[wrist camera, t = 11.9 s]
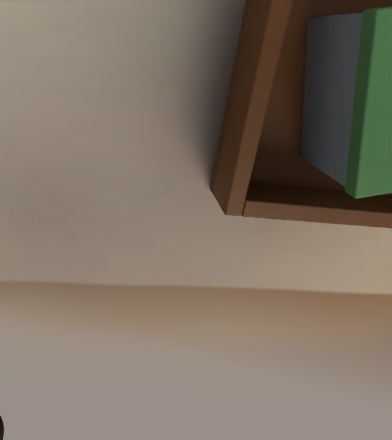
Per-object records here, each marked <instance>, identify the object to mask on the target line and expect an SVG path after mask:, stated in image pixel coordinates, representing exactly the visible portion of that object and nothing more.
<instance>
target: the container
mask: <svg viewBox="0 0 392 440" xmlns="http://www.w3.org/2000/svg"><path fill="white" fill-rule="evenodd" d="M301 156H302V158H304V159H305V160H307V161H308V162H310V163H311V164H313V165H314V166H316V167H317V168H318V169H320V170H321V171H323V172H324V173H326V174H327V175H329V176H330V177H332V178H333V179H335V180H336V181H337V182H339V183H340V184H342V185H343V186H345V192H347V193H348V194H350V195H351V196H352V197H354V198H363V197H369V196H375V195H381V194H387V193H392V7H383V8H373V9H365V10H364V11H363V12H357V13H348V14H338V15H328V16H319V17H309V18H307V31H306V56H305V81H304V105H303V130H302V155H301Z"/></svg>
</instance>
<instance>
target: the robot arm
mask: <svg viewBox="0 0 392 440" xmlns="http://www.w3.org/2000/svg"><path fill="white" fill-rule="evenodd" d="M3 435H4V425H3V421H2V418H1V416H0V440H3Z"/></svg>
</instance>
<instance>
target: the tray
mask: <svg viewBox="0 0 392 440" xmlns="http://www.w3.org/2000/svg"><path fill="white" fill-rule="evenodd" d="M383 7H392V0H246V4H245V10H244V15H243V20H242V25H241V30H240V35H239V41H238V46H237V51H236V56H235V61H234V66H233V72H232V77H231V82H230V87H229V92H228V97H227V103H226V108H225V113H224V118H223V123H222V128H221V134H220V139H219V144H218V149H217V154H216V159H215V164H214V170H213V175H212V180H211V185H210V190H211V192H212V193H213V195H214V196H215V198H216V200H217V202H218V203H219V205H220V207H221V209H222V210H223V212H224V214H225V215H234V216H241V215H242V216H244V217H256V218H269V219H282V220H294V221H307V222H320V223H332V224H345V225H358V226H370V227H383V228H392V193H387V194H381V195H375V196H369V197H363V198H354V197H352V196H351V195H350V194H348V193H347V192H345V186H343V185H342V184H340V183H339V182H337V181H336V180H335V179H333V178H332V177H330V176H329V175H327V174H326V173H324V172H323V171H321V170H320V169H318V168H317V167H316V166H314V165H313V164H311V163H310V162H308V161H307V160H305V159H304V158H302V156H301V155H302V130H303V105H304V81H305V56H306V31H307V18H309V17H319V16H328V15H338V14H348V13H357V12H363V11H364V10H365V9H373V8H383Z"/></svg>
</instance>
